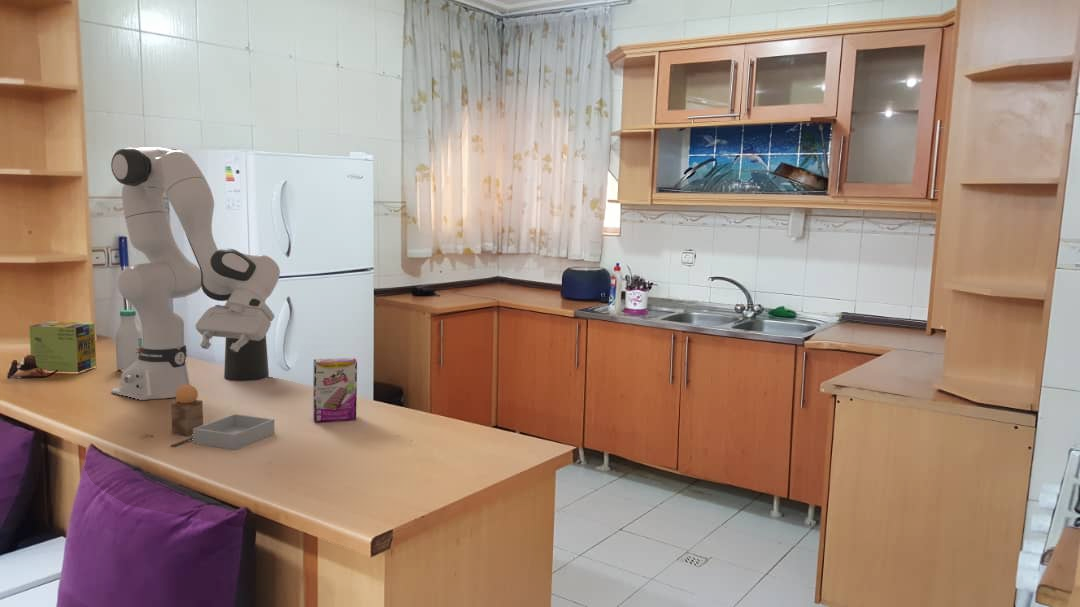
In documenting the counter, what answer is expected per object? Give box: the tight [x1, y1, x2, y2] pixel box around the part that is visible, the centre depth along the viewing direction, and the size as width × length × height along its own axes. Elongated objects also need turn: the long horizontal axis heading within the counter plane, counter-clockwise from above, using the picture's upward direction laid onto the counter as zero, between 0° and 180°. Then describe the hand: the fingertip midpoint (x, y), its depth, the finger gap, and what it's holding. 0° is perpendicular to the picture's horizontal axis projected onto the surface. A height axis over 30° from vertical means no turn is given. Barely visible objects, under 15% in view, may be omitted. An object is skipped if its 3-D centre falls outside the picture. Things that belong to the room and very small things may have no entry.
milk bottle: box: [115, 309, 143, 371], centre depth 252 cm, size 8×8×20 cm
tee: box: [170, 399, 204, 437], centre depth 188 cm, size 5×5×8 cm
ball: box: [175, 384, 199, 404], centre depth 188 cm, size 5×5×5 cm
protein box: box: [29, 321, 97, 372], centre depth 248 cm, size 10×15×16 cm
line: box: [170, 436, 193, 447], centre depth 188 cm, size 1×22×1 cm, turn 161°
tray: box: [192, 413, 275, 451], centre depth 185 cm, size 12×14×4 cm
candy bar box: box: [312, 357, 358, 423], centre depth 203 cm, size 11×5×16 cm, turn 110°
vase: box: [223, 300, 270, 382], centre depth 247 cm, size 14×14×29 cm
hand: (218, 349), depth 197 cm, fingers open, 8 cm apart
